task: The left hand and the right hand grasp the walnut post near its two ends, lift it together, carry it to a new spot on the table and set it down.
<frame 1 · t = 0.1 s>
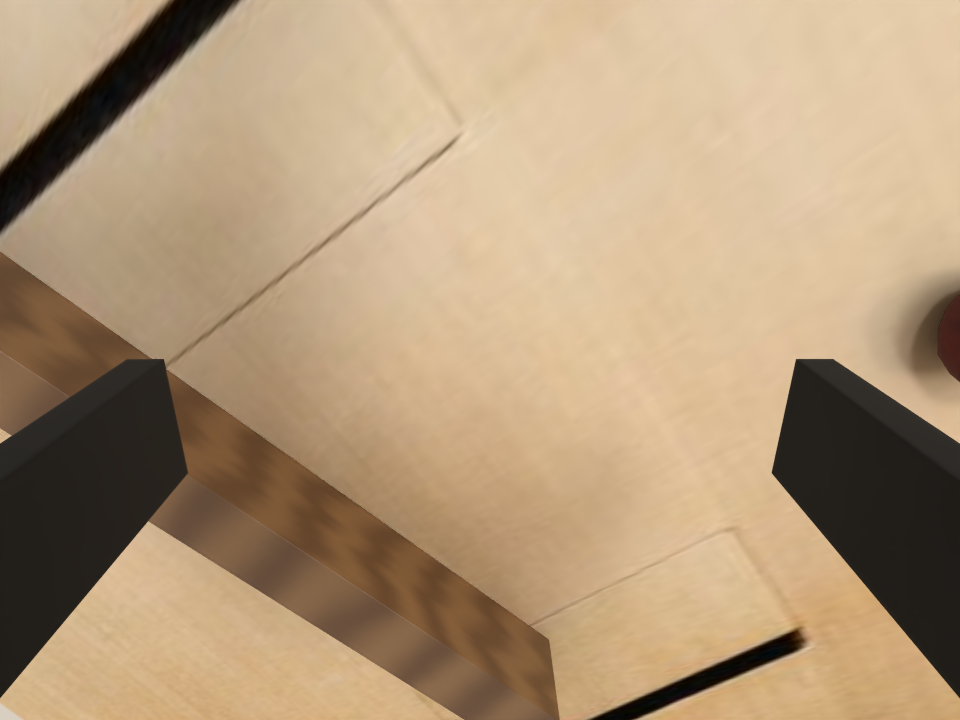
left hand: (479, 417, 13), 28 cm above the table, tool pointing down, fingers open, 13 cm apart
post: (110, 364, 42), on the table
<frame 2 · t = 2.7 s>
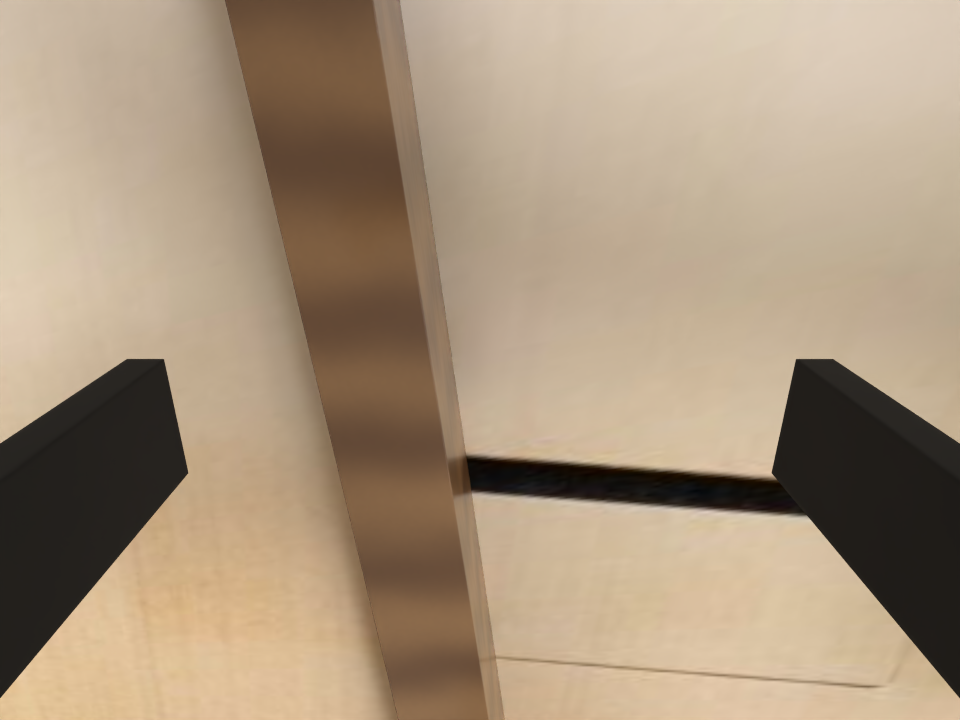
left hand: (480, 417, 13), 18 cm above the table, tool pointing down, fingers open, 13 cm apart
post: (454, 627, 39), on the table, touching right hand
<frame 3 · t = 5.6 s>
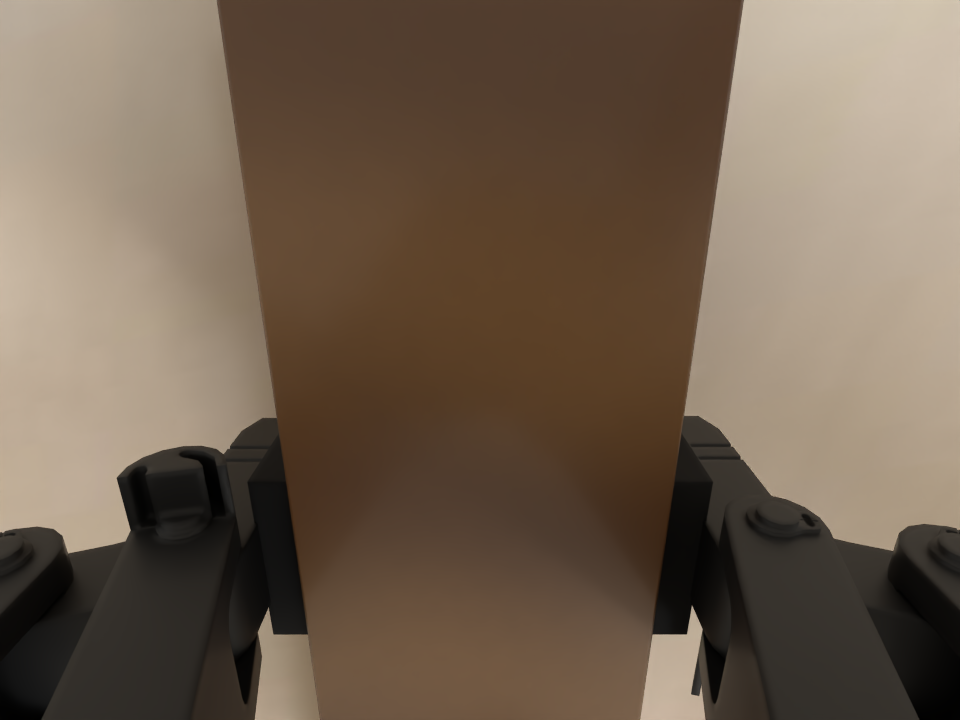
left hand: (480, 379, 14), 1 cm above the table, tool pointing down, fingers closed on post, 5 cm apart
when the left hand's fingers open (2 cm above the table, at t = 10.3 s): post drops 1 cm, on the table.
when the right hand's fingers open (4 cm above the table, at t = 10.4 s): post stays where it is, on the table.
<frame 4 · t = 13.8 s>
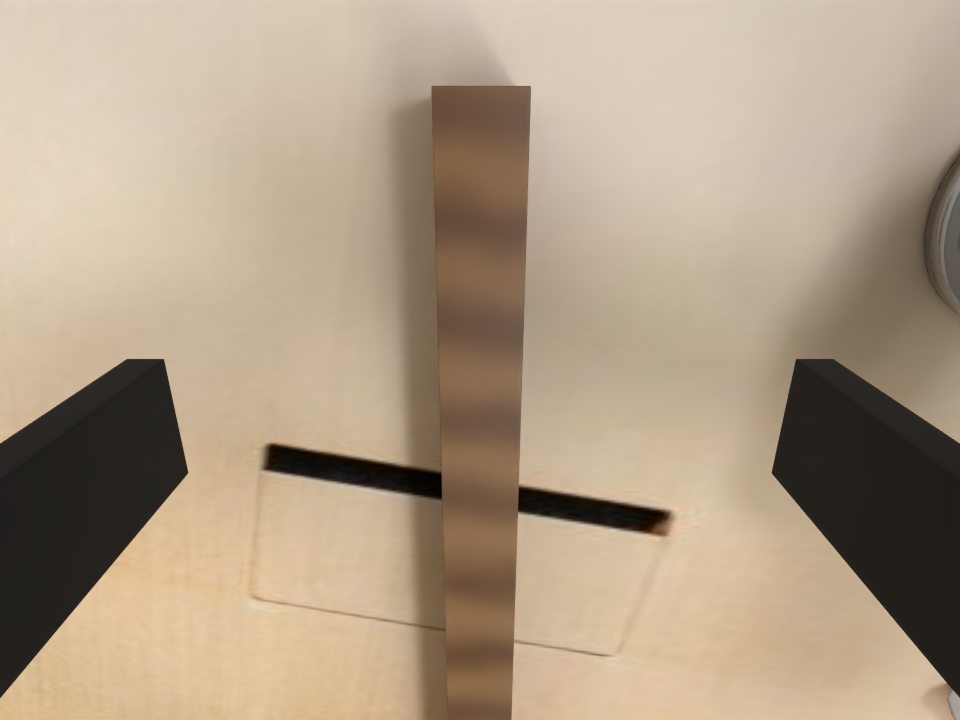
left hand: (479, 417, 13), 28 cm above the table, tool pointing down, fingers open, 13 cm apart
post: (479, 625, 51), on the table
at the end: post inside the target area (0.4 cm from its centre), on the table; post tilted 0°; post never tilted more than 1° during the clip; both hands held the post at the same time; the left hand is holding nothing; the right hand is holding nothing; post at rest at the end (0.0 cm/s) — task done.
